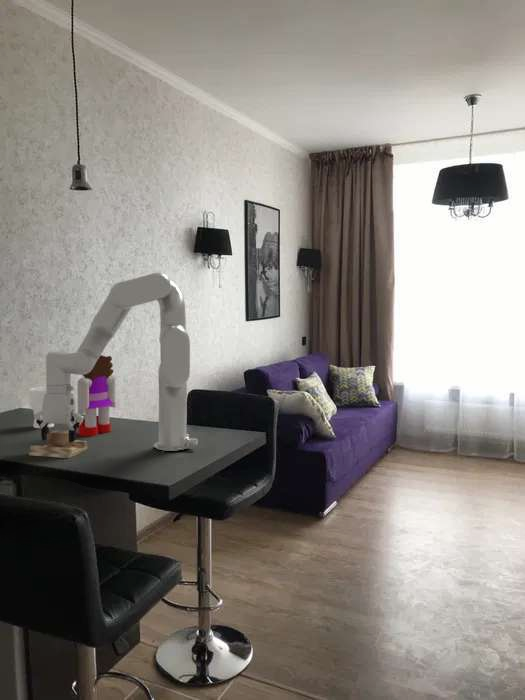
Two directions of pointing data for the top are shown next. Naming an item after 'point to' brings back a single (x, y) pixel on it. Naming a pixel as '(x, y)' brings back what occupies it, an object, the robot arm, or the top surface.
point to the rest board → (59, 450)
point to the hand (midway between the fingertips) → (58, 440)
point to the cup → (37, 402)
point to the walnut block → (58, 439)
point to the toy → (96, 397)
